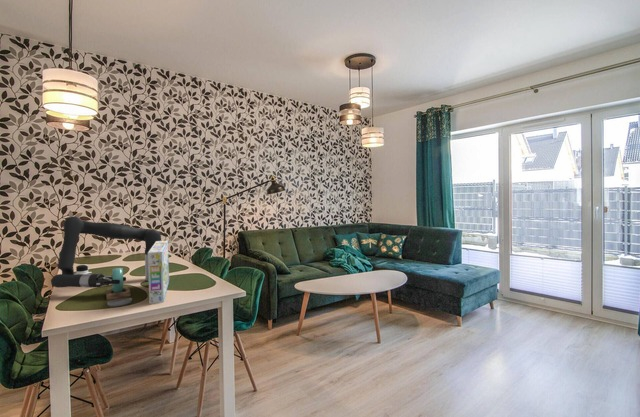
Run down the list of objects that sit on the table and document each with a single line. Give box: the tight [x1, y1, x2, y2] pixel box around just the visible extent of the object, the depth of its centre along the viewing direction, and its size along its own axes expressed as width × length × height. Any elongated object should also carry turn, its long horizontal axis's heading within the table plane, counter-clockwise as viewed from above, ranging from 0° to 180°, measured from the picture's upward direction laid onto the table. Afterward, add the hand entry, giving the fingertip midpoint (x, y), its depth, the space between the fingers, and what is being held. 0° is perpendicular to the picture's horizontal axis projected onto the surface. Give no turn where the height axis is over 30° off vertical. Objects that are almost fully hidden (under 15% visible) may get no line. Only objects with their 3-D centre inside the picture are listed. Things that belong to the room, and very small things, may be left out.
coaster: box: [106, 297, 133, 308], centre depth 165 cm, size 11×11×1 cm
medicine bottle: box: [74, 264, 93, 275], centre depth 200 cm, size 7×7×12 cm
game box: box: [148, 240, 170, 305], centre depth 183 cm, size 40×7×27 cm, turn 22°
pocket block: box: [105, 286, 131, 301], centre depth 178 cm, size 11×11×2 cm
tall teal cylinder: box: [111, 267, 124, 293], centre depth 177 cm, size 5×5×15 cm
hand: (122, 280), depth 177 cm, fingers closed on tall teal cylinder, 5 cm apart
